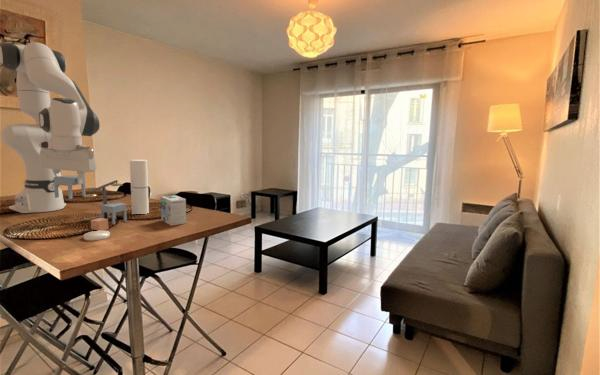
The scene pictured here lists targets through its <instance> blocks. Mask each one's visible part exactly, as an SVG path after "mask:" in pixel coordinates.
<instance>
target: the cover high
mask: <svg viewBox="0 0 600 375" xmlns="http://www.w3.org/2000/svg"><path fill="white" fill-rule="evenodd" d="M104 212H107V214H111V216H112V219H111V225H112V224H114V225H116V220H117V213H120V212H122V214H123V222H127V221H128V217H127V203H123V202H116V201H113V202H107V204H103V203H102V204H100V216H101V218H104Z"/></svg>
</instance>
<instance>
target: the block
mask: <svg viewBox="0 0 600 375" xmlns="http://www.w3.org/2000/svg"><path fill="white" fill-rule="evenodd" d="M90 229H94V230H97V231H107V230H109V220H108V219H104V218H98V219H96V218H94V219H91V220H90Z"/></svg>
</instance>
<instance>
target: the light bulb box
mask: <svg viewBox="0 0 600 375" xmlns="http://www.w3.org/2000/svg"><path fill="white" fill-rule="evenodd" d="M160 202H161V203H160V204H161V205H160V206H161V208H160V209H161V211H160V212H161V218H160V220H161V221H162V222H164V223H166V224H167V225H169V226H179V225H184V224H187V199H186V198H184V197H181V196H178V195H176V194H173V195H164V196H160Z"/></svg>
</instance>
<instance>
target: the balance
mask: <svg viewBox="0 0 600 375" xmlns="http://www.w3.org/2000/svg"><path fill="white" fill-rule="evenodd" d="M109 186H111V187H121V186H123V183H119V181H118V180H117V179H116V180H113V181H111V182H108V183H105V184H103V185H100V186H98V187H95V188H93V189H91V190H89V194H87V193H86V196H83V198H96V197H98V194H97V193H95V192H98V191H99V190H102V192H101V193H102V205H103V204H108V201H107V200H108V199H107V198H108V197H107V187H109ZM98 218H101V215H98V216H96V217H95V219H98ZM104 219H108V221H112V215H109V213H108V212H104Z"/></svg>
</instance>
